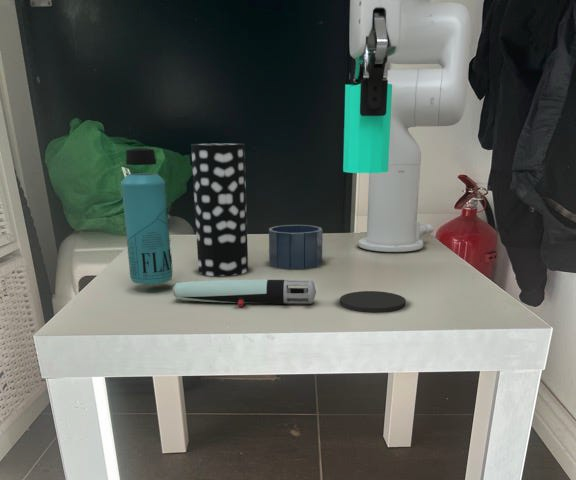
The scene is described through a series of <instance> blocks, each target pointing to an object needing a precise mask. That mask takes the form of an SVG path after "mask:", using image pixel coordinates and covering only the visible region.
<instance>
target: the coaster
mask: <svg viewBox="0 0 576 480" xmlns="http://www.w3.org/2000/svg"><path fill="white" fill-rule="evenodd" d="M406 302H407V301H406V298H405V297H403V296H402V295H400V294H397V293H393V292H388V291H378V290H361V291H353V292H348V293H345V294H343V295H341V296H340V298H339V304H340V305H341V306H342V307H343V308H345V309H348V310H351V311H357V312H364V313H387V312H394V311H399V310H400V309H403V308H404V307H405V306H406V305H407V304H406Z"/></svg>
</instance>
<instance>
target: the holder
mask: <svg viewBox="0 0 576 480" xmlns="http://www.w3.org/2000/svg"><path fill="white" fill-rule="evenodd" d="M268 262H269V263H268V265H269V266H270V267H274V268H276V269H286V270H304V269H305V270H306V269H312V268H313V269H314V268H317V267H319V266H322V265H323V228H322V227H320V226H316V225H310V224H309V225H308V224H284V225H276V226H275V225H274V226H272V227H269V228H268Z"/></svg>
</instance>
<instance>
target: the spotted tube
mask: <svg viewBox="0 0 576 480" xmlns="http://www.w3.org/2000/svg"><path fill="white" fill-rule="evenodd" d="M245 146H246V145H245V143H237V142H233V143H232V142H231V143H230V142H228V143H227V142H221V143H220V142H219V143H218V142H216V143H215V142H213V143H210V142H209V143H191V144H190V148H191V166H192V168H191V169H192V183H193V197H194V199H193V200H194V217H195V231H196V232H195V235H196V251H197V267H198V269H197V270H198V273H199V274H201V275H204V276H209V277H232V276H233V277H234V276H239V275H244V274H246V273H248V272H249V252H248V251H249V250H248V217H247V216H248V215H247V214H248V213H247V183H246V182H247V181H246V151H245V149H246V147H245Z"/></svg>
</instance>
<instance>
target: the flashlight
mask: <svg viewBox="0 0 576 480" xmlns="http://www.w3.org/2000/svg"><path fill="white" fill-rule="evenodd" d="M290 286H296V287H290ZM301 286H302V287H301ZM303 286H305V287H303ZM172 295H173V296H174V297H175V299H177V300H183V301H191V302H193V301H194V302H204V303H205V302H206V303H224V304H225V303H226V304H237V306H238V307H239V308H243V307H244V305H245V304H268V305H269V304H275V305H276V304H277V305H279V304H280V305H282V304H283V305H285V304H307V305H309V304H313V303H314V301H315V297H316V295H317V290H316V285H315V282H314V281H313V280H312V279H308V280H293V279H292V280H291V279H290V280H288V279H214V280H213V279H212V280H194V281H182V282H176V283H175V284H174V285H173V287H172Z"/></svg>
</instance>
